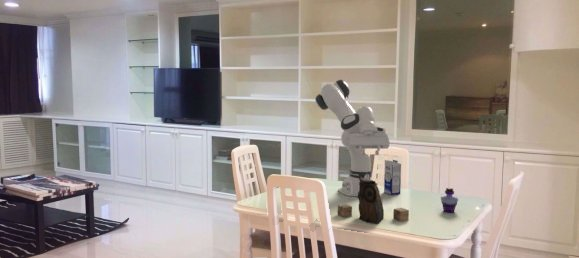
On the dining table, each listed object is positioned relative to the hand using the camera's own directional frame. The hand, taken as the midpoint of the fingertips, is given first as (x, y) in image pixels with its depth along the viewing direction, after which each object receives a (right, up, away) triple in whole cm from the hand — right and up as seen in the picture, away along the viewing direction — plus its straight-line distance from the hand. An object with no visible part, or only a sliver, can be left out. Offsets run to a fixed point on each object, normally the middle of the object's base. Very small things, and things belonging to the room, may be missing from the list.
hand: (370, 154), depth 228 cm
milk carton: (+21, -26, +44) cm, 55 cm away
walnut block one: (-13, -30, -3) cm, 33 cm away
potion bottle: (+41, -30, +5) cm, 51 cm away
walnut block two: (+13, -31, -9) cm, 35 cm away
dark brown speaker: (0, -31, -9) cm, 32 cm away
